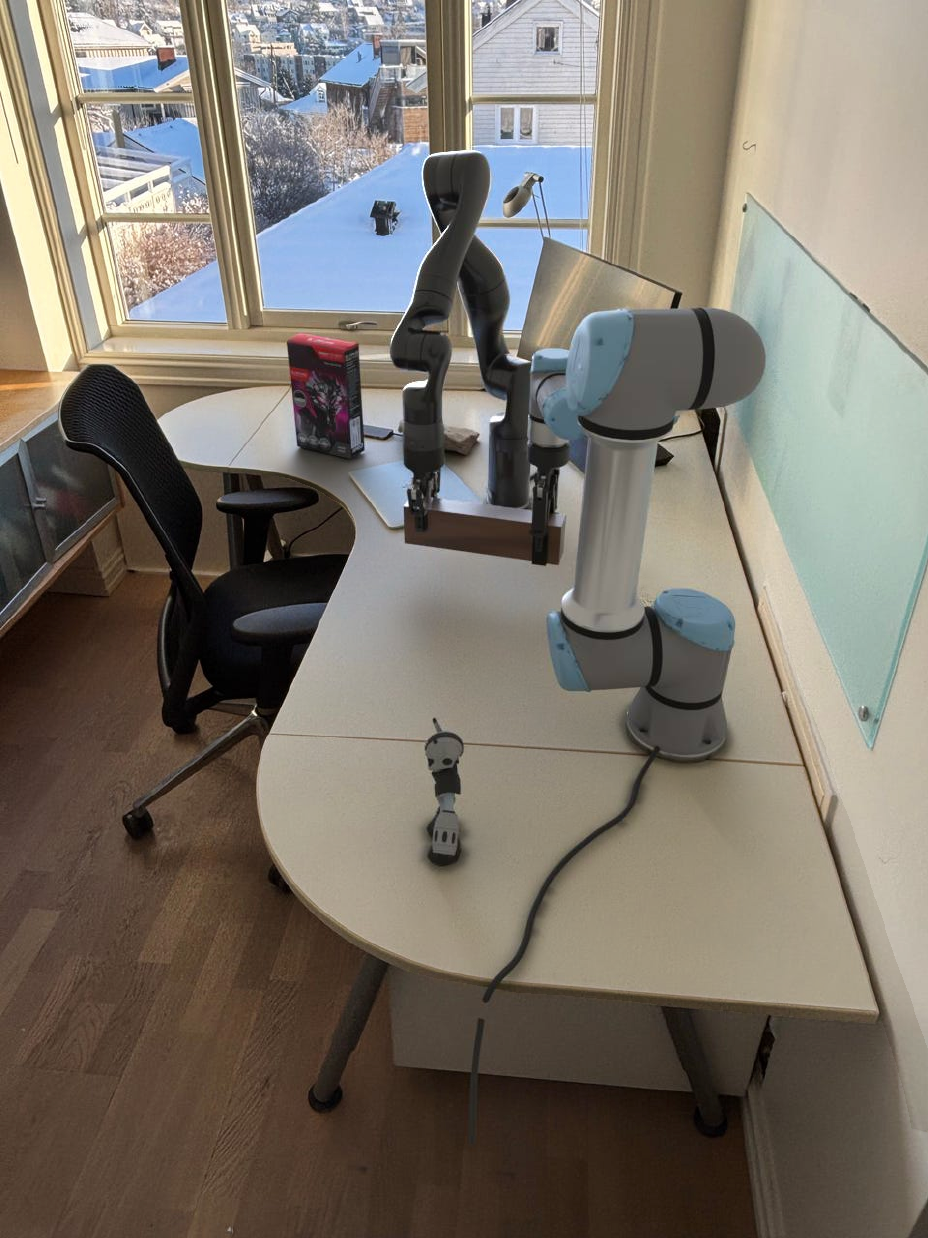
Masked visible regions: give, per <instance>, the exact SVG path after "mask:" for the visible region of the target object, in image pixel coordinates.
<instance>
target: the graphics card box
mask: <svg viewBox="0 0 928 1238" xmlns="http://www.w3.org/2000/svg"><path fill="white" fill-rule="evenodd" d="M286 347H287V359H288V369H289V378H290V389H291V397H292V407H293V418H294V419H293V420H294V428H295V438H296V439H295V441H296V447H299V448H303V449H307V450H310V451H315V452H320V453H323V454H324V453H325V454H329V455H332V456H336V457H341V458H346V459H353V458H354V457H356V456H358V455H360V454H362V453H363V452H365V447H366V446H365V430H364V415H363V414H364V413H363V398H362V381H361V380H362V379H361V363H360V344H359V342H351V341H346V340H342V339H341V340H340V339H336V338H330V337H325V336H319V335H314V334H308V333H304V332H300V333H298V334H295V335H293V336H292V337H290V338H289V339H288V340H287V341H286Z"/></svg>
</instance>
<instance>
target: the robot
mask: <svg viewBox="0 0 928 1238" xmlns="http://www.w3.org/2000/svg"><path fill="white" fill-rule="evenodd" d="M432 723H433V725H434V728H435V731H436V733H434V734H432V735H431V736H430V737H429V738H428V739H426V742H425V745H424V747H423V749H424V752H425V753H424V755H425V757H426V758H427V769H428V770H429V771H430V772H431V776H432V779H433V780H434V782H435V783H434V797H435V798H436V800H437V803H438V805H439V806H438V808H437V810H436V811H435V814H434V817H433V819H432V820H431V821H430V822H429V823H428V825H427V827H426V830H427V833H428V835H429V837H430V838H432V841H431V846H430V847H429V850H428V852H427V858H428V860H430V861H431V862H432V864H434V865H437V866H441V867H442V866H448V865H450V864H453V863H455V862H457V861H459V860H460V856H461V854H462V846H461V841H460V837H459V836H460V833H461V830H460V820H459V815H458V813H456V811H455V807H454V805H455V803H456V795H457V796H459V795H462V782H461V781H462V780H461V776H460V774H459V769H458V768H459V767H458V765H459V764H460V758H462V755H463V754H464V749H465V746H464V745H465V744H464V741H463V739H462V738H461V737H460V736H459V734H457V733H455V732H453V731H451V730H443V729H442V727H441V725H440V723H439V721H438V720H437V718H436V717H433V718H432Z"/></svg>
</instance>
